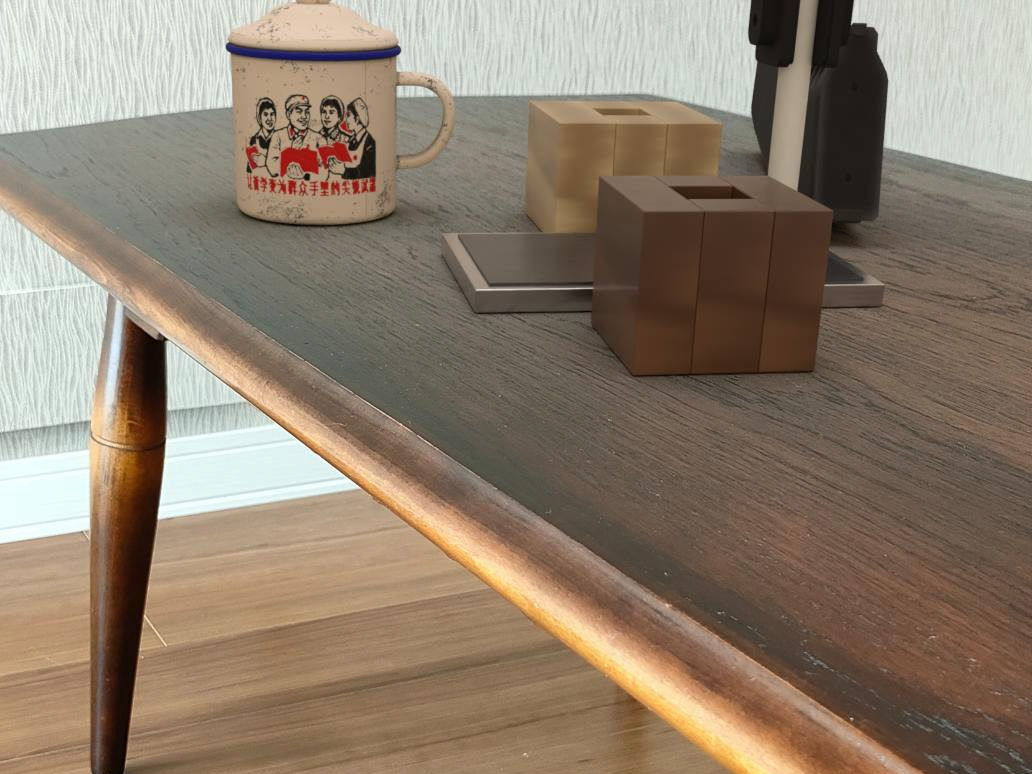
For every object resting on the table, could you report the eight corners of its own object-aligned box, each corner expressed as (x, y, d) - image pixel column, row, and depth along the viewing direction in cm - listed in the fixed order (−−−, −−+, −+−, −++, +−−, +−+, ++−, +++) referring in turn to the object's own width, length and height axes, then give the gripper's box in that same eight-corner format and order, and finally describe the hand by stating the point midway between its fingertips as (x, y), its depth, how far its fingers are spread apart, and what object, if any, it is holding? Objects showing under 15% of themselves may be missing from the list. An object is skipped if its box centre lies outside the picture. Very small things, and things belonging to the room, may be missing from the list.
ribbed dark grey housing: (910, 67, 68) (832, -126, 91) (840, 65, 68) (780, -127, 91) (847, 369, 79) (792, 131, 102) (788, 367, 80) (746, 129, 102)
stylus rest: (754, 321, 60) (769, 175, 58) (814, 371, 54) (834, 210, 52) (590, 324, 59) (598, 175, 57) (632, 376, 53) (644, 211, 50)
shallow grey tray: (794, 250, 73) (797, 228, 73) (882, 306, 63) (885, 281, 63) (441, 253, 70) (441, 230, 70) (474, 313, 60) (475, 287, 60)
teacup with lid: (224, 226, 75) (212, -16, 70) (241, 193, 83) (232, -26, 78) (456, 229, 75) (461, -9, 71) (451, 196, 84) (454, -20, 79)
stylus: (784, 250, 68) (819, -74, 62) (794, 257, 67) (831, -73, 61) (755, 250, 68) (788, -75, 62) (765, 257, 66) (800, -74, 61)
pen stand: (668, 212, 81) (677, 101, 79) (712, 244, 74) (722, 123, 71) (524, 213, 80) (528, 100, 77) (554, 246, 72) (559, 122, 70)
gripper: (682, -467, 52) (645, 71, 59) (1084, -437, 54) (1000, 76, 62) (631, -425, 58) (603, 53, 66) (990, -400, 61) (924, 58, 68)
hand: (795, 61), depth 64 cm, fingers closed on stylus, 1 cm apart
